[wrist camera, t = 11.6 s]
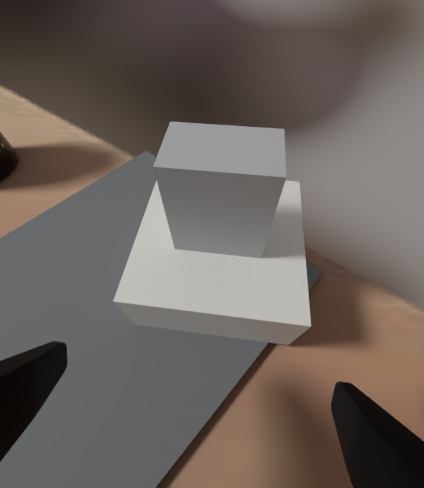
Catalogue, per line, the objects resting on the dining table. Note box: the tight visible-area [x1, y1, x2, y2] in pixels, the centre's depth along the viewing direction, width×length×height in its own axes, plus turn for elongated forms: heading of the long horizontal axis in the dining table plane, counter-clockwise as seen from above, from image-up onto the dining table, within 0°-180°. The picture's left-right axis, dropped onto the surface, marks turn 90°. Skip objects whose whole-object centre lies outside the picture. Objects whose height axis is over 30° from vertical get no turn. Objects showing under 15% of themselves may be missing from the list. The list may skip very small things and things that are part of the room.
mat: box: [0, 151, 323, 488], centre depth 18 cm, size 21×23×1 cm
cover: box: [113, 122, 311, 345], centre depth 15 cm, size 10×10×10 cm
